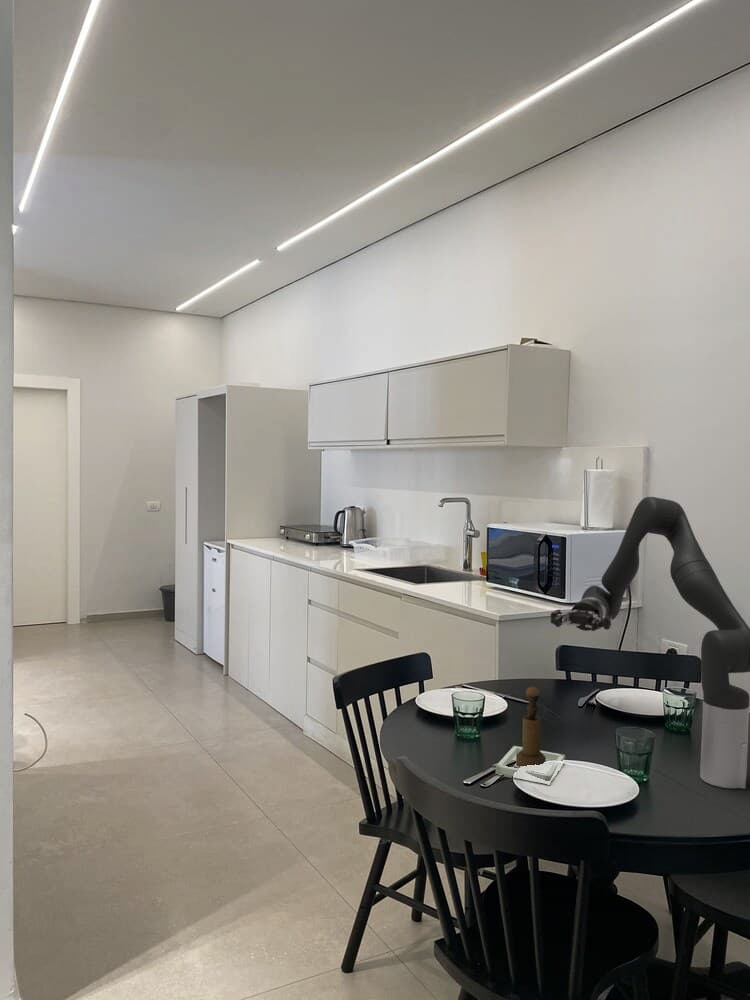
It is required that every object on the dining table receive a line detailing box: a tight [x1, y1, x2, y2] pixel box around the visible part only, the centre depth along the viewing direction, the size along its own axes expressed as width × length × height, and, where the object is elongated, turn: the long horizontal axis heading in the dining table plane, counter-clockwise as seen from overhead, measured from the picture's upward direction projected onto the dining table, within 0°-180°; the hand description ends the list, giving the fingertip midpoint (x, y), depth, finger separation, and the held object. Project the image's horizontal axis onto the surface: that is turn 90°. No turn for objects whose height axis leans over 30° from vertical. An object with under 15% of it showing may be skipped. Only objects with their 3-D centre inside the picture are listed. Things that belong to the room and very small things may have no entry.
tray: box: [495, 745, 566, 781], centre depth 182 cm, size 12×14×2 cm
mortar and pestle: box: [516, 686, 546, 767], centre depth 181 cm, size 7×6×18 cm
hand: (575, 624), depth 194 cm, fingers open, 8 cm apart
